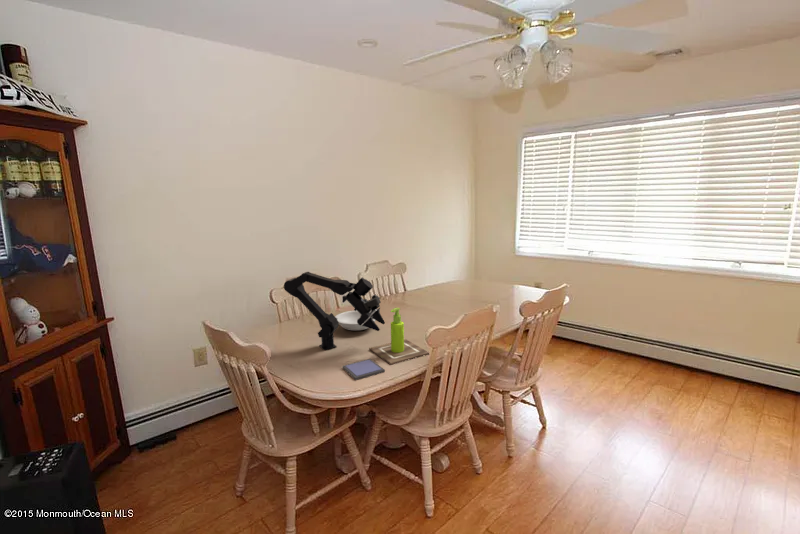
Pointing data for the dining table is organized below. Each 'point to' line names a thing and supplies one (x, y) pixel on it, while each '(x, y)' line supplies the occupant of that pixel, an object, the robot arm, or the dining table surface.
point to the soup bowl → (350, 320)
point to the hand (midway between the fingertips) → (381, 327)
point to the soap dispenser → (397, 332)
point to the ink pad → (363, 369)
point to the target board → (392, 357)
